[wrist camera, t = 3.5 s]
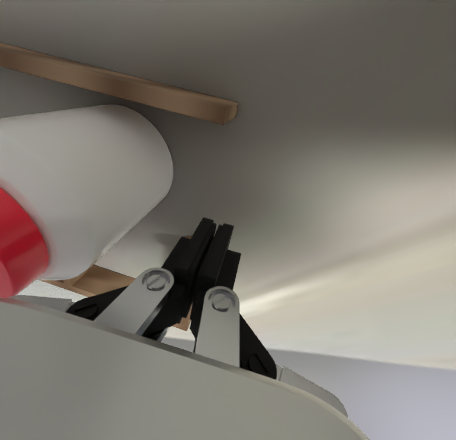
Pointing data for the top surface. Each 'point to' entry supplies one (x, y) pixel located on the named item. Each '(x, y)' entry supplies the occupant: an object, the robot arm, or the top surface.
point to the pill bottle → (74, 188)
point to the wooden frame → (127, 89)
